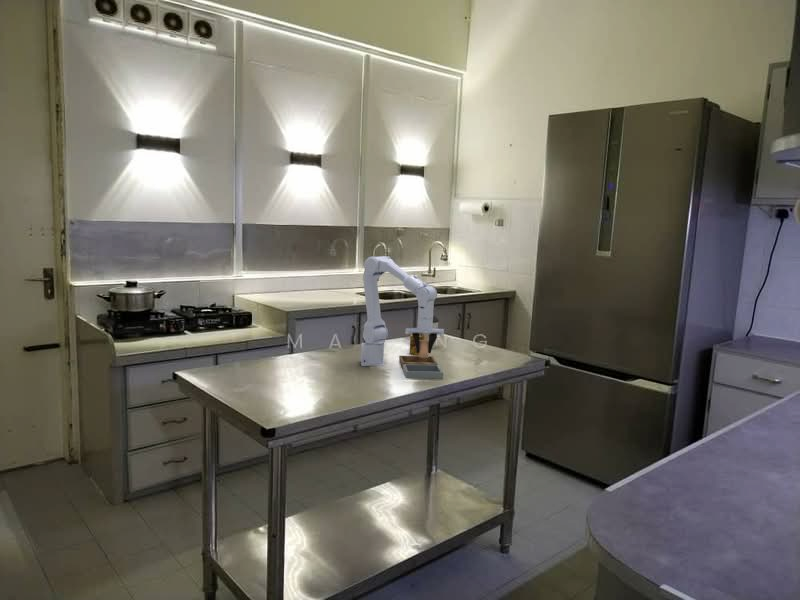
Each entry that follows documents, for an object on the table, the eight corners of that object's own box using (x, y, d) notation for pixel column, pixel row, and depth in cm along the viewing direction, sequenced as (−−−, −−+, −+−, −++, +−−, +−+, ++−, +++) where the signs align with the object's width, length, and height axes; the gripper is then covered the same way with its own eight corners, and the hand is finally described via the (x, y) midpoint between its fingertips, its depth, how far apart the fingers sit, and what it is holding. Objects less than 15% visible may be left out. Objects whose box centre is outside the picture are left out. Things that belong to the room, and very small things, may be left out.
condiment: (406, 355, 252) (407, 329, 250) (412, 351, 260) (413, 325, 258) (422, 358, 250) (423, 331, 248) (427, 354, 257) (429, 327, 256)
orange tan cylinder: (418, 357, 219) (419, 342, 219) (417, 355, 223) (418, 340, 223) (429, 357, 220) (429, 342, 219) (427, 355, 224) (428, 340, 223)
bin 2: (405, 379, 216) (406, 371, 215) (402, 371, 227) (403, 364, 226) (442, 380, 217) (443, 372, 217) (437, 372, 228) (438, 364, 228)
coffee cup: (437, 349, 266) (439, 317, 264) (418, 349, 266) (420, 317, 263) (436, 345, 275) (438, 314, 273) (417, 344, 275) (419, 313, 272)
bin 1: (402, 370, 228) (402, 363, 228) (399, 362, 240) (399, 355, 239) (437, 371, 230) (437, 363, 229) (432, 363, 241) (432, 356, 241)
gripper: (407, 319, 214) (406, 354, 216) (446, 320, 216) (444, 355, 218) (405, 315, 221) (403, 350, 223) (442, 316, 223) (440, 351, 225)
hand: (423, 352), depth 221 cm, fingers closed on orange tan cylinder, 4 cm apart
